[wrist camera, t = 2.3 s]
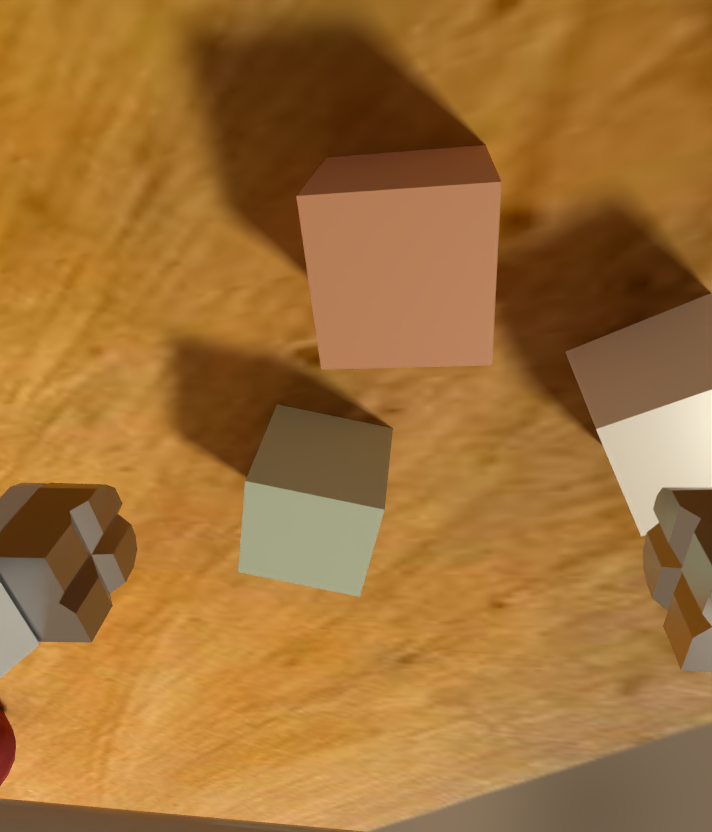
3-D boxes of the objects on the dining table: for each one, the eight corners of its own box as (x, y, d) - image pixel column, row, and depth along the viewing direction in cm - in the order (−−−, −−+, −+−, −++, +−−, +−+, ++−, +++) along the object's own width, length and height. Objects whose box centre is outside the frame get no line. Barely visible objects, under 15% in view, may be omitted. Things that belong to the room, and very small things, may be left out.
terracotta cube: (326, 156, 18) (296, 196, 14) (485, 144, 18) (501, 181, 13) (342, 302, 21) (321, 369, 17) (480, 296, 20) (492, 365, 16)
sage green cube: (277, 403, 24) (245, 481, 20) (393, 427, 24) (384, 509, 20) (267, 488, 27) (238, 571, 23) (370, 509, 27) (359, 597, 23)
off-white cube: (564, 350, 21) (596, 429, 17) (710, 292, 19) (783, 364, 15) (605, 446, 23) (641, 536, 19) (739, 402, 22) (810, 491, 18)
